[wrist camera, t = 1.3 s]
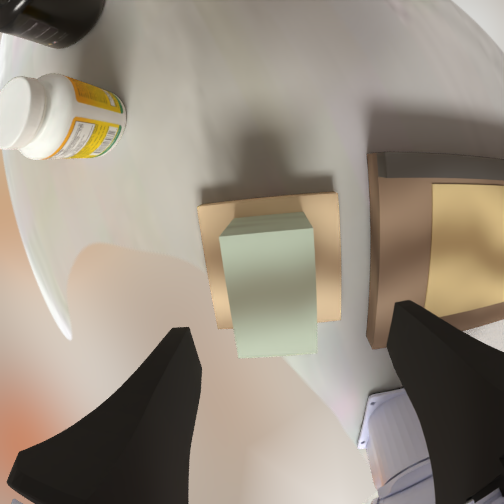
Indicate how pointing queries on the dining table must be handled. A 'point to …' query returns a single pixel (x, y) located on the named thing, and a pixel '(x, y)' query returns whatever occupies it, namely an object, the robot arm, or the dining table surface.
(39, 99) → the supplement bottle
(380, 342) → the dock
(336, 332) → the dining table surface
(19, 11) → the supplement bottle
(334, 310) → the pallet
